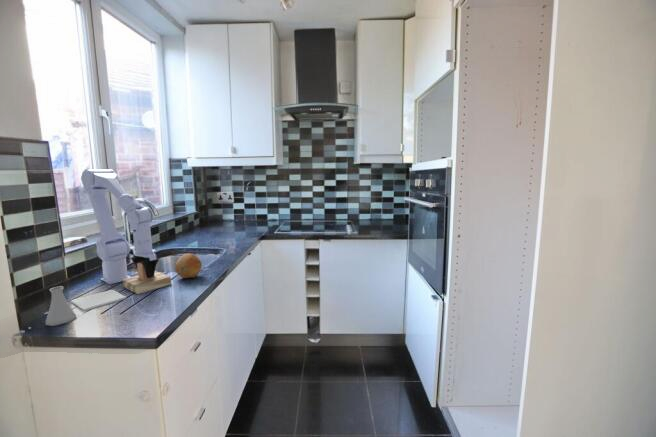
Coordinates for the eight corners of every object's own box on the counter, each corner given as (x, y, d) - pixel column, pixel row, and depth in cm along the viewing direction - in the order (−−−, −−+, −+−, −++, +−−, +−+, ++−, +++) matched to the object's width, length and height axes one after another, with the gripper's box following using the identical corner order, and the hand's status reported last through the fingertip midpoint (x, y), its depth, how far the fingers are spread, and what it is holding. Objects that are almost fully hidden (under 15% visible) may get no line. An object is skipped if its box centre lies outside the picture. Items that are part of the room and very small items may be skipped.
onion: (173, 283, 122) (171, 258, 121) (179, 275, 132) (177, 251, 130) (200, 280, 124) (198, 256, 123) (203, 273, 134) (202, 250, 133)
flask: (81, 318, 94) (77, 286, 92) (51, 329, 88) (45, 294, 86) (70, 313, 97) (66, 282, 96) (40, 323, 91) (35, 290, 90)
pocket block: (123, 287, 119) (122, 279, 118) (156, 278, 128) (155, 270, 128) (137, 294, 112) (136, 286, 111) (171, 284, 121) (170, 276, 121)
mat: (71, 302, 106) (71, 300, 106) (112, 290, 115) (112, 289, 115) (83, 311, 98) (83, 309, 98) (126, 298, 108) (126, 296, 108)
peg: (139, 286, 120) (137, 263, 118) (150, 283, 123) (148, 260, 121) (144, 288, 117) (141, 265, 116) (155, 285, 120) (153, 262, 119)
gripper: (163, 240, 116) (166, 276, 118) (145, 236, 125) (148, 269, 127) (142, 244, 111) (146, 281, 113) (125, 239, 119) (129, 274, 121)
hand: (146, 275), depth 119 cm, fingers open, 6 cm apart
